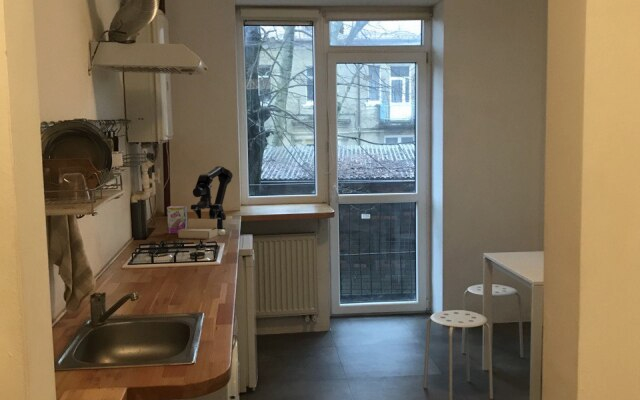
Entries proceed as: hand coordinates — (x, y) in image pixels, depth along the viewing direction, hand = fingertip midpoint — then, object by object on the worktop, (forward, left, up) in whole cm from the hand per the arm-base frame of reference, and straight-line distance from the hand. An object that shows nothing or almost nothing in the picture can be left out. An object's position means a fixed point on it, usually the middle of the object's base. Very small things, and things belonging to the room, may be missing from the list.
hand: (207, 221), depth 406 cm
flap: (+7, 0, 0) cm, 7 cm away
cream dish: (+3, +9, -7) cm, 12 cm away
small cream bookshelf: (+13, 0, -7) cm, 15 cm away
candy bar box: (+4, -18, -8) cm, 20 cm away
